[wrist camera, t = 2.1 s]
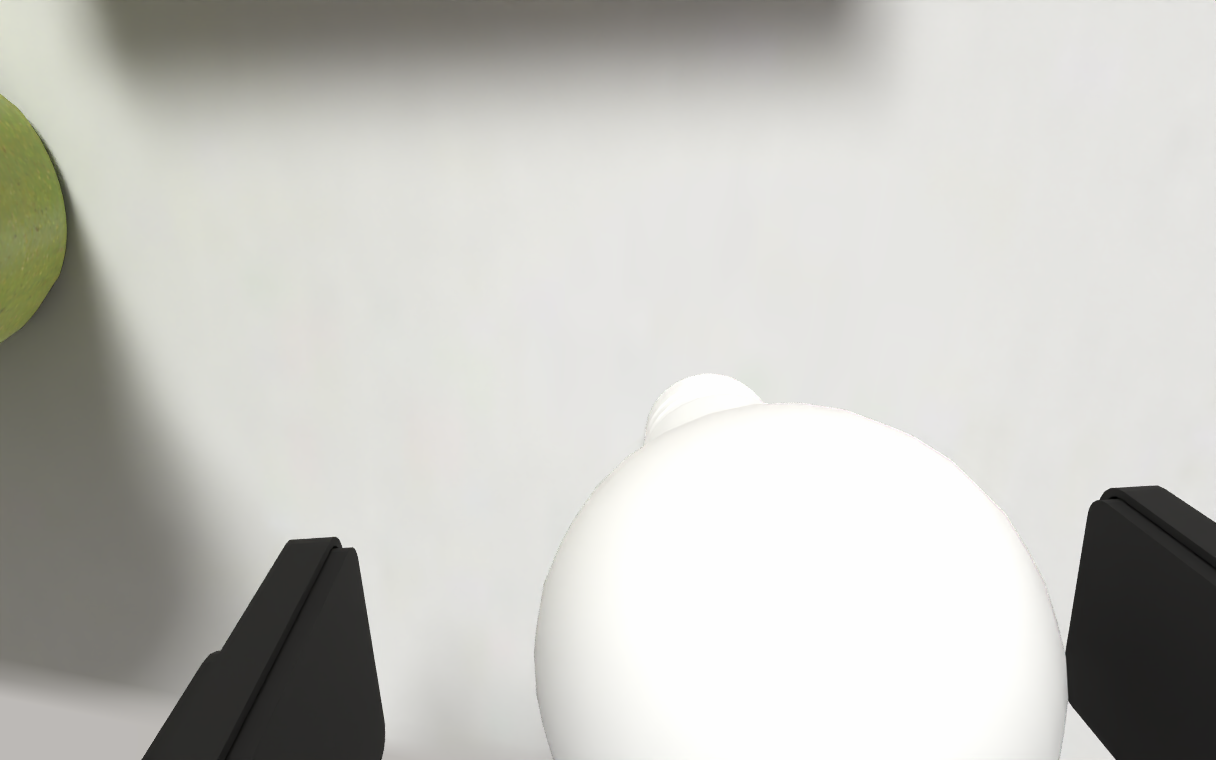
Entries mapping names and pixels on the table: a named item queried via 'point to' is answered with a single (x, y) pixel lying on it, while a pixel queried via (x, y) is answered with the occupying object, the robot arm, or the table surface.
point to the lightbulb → (793, 599)
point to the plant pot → (27, 221)
